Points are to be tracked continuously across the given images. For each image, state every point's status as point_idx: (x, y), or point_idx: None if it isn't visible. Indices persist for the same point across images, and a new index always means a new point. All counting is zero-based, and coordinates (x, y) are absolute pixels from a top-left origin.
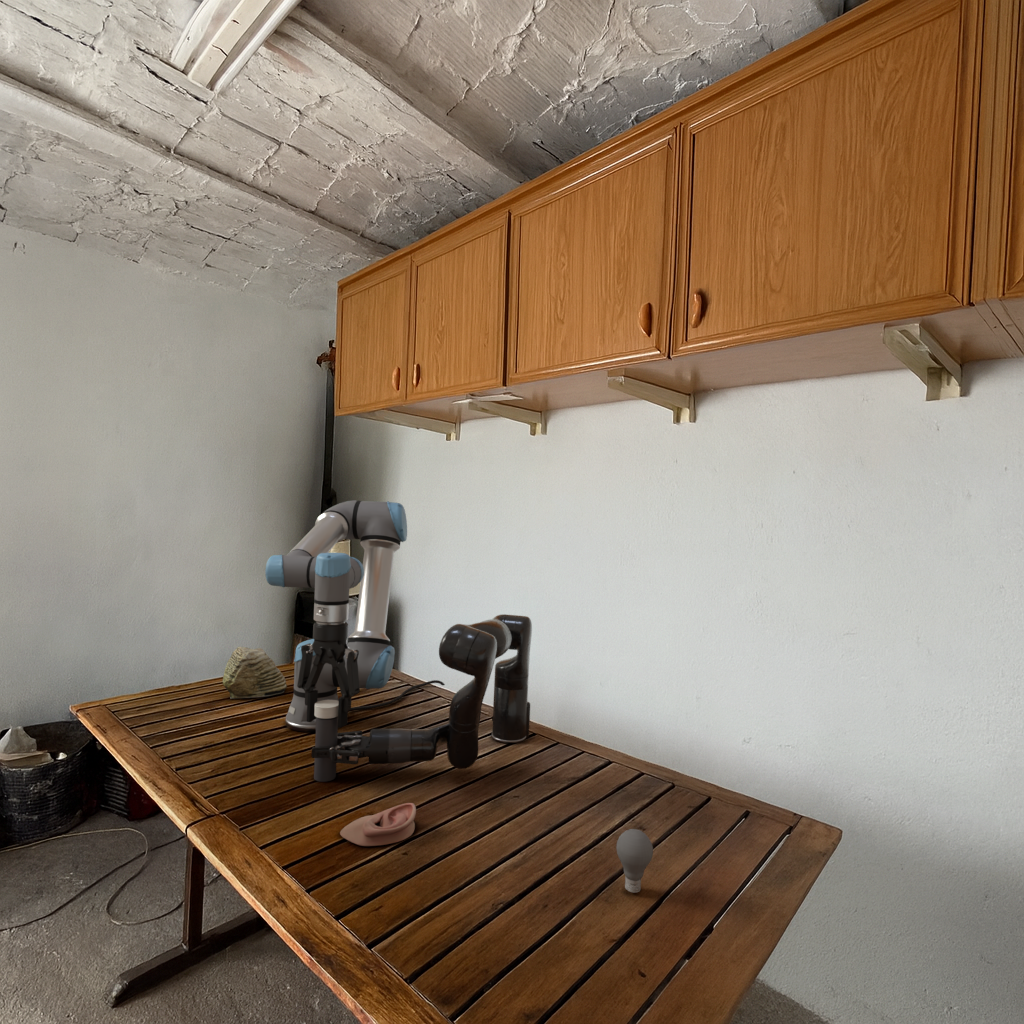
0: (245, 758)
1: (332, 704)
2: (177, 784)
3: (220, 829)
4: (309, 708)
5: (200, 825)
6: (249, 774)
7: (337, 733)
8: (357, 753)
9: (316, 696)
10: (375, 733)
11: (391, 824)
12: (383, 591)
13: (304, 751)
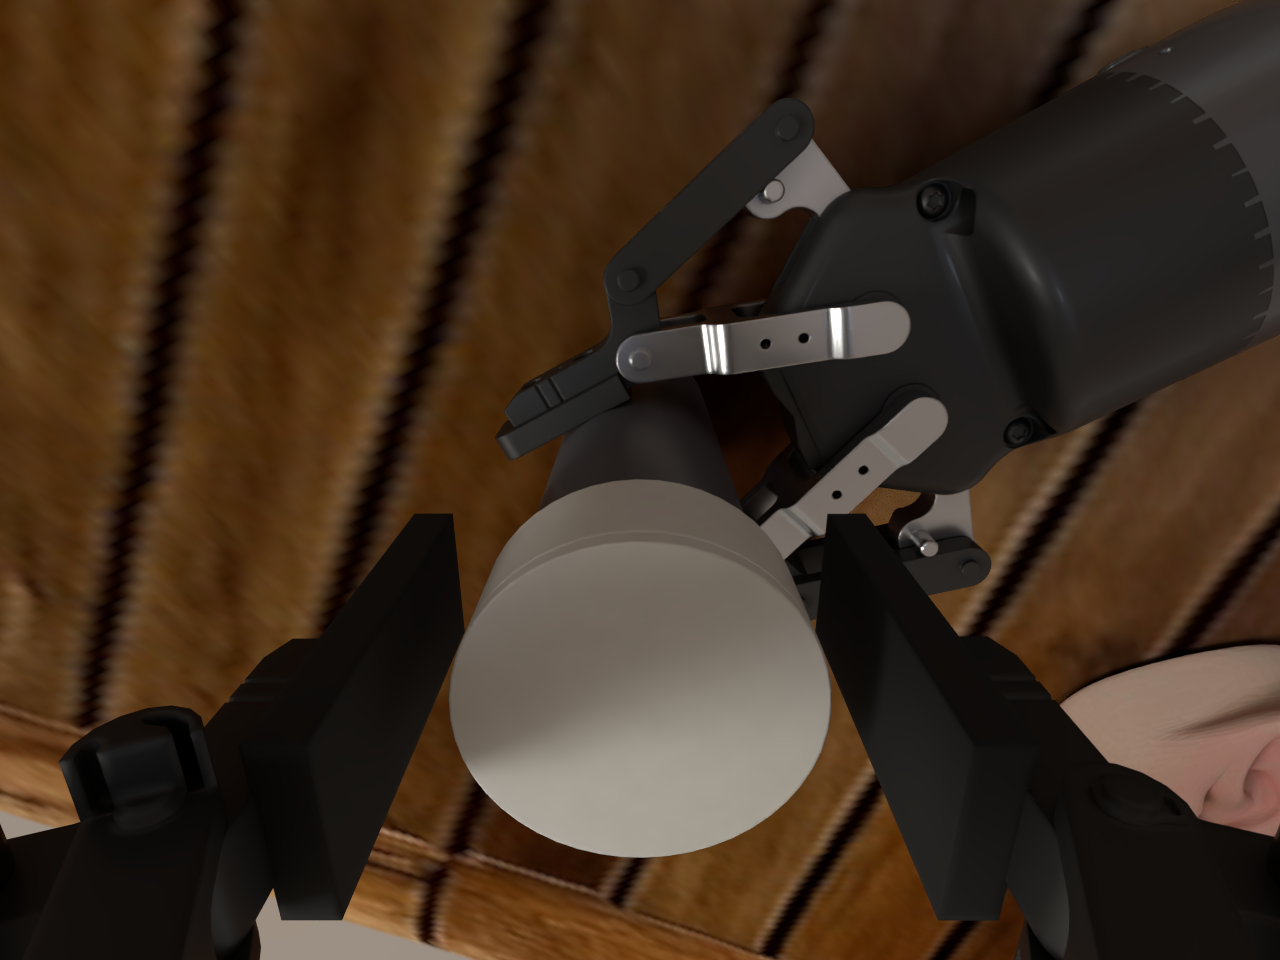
0: (14, 388)
1: (727, 719)
2: (53, 752)
3: (550, 924)
4: (415, 732)
5: (462, 929)
6: (237, 549)
7: (732, 483)
8: (986, 571)
9: (357, 699)
10: (1120, 366)
11: (1252, 795)
12: None
13: (233, 107)
